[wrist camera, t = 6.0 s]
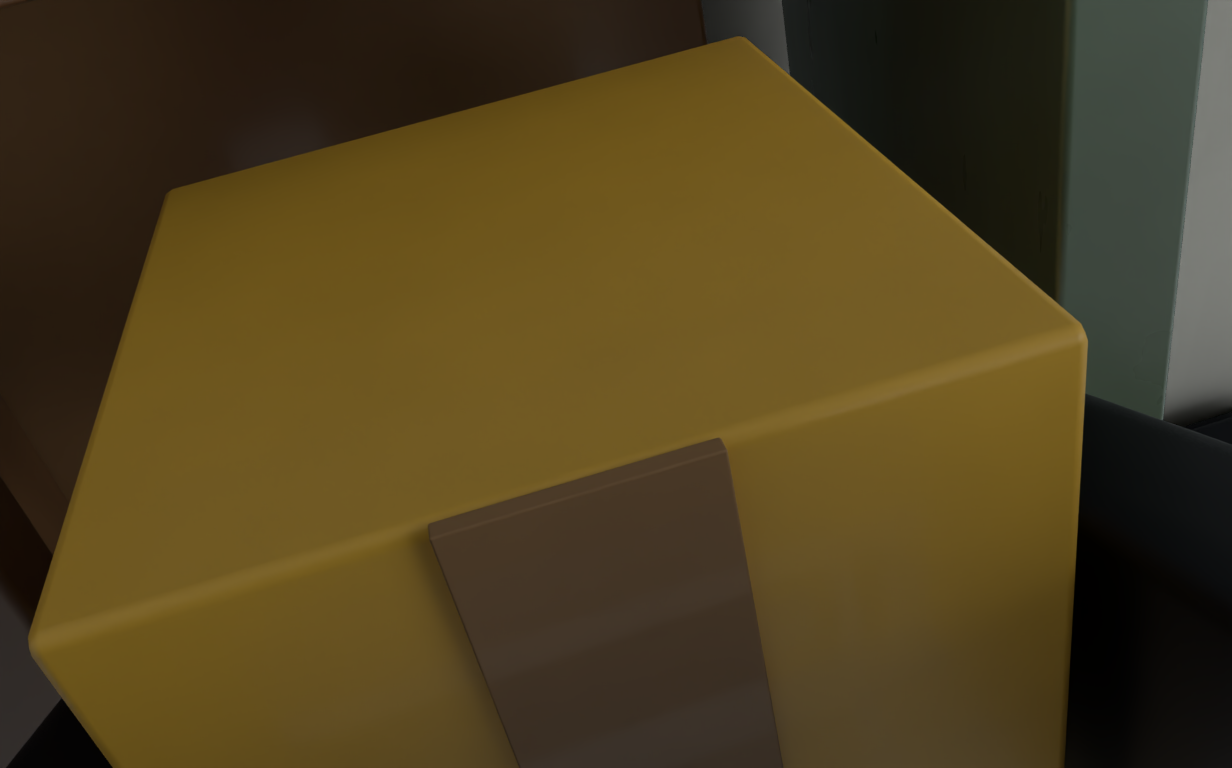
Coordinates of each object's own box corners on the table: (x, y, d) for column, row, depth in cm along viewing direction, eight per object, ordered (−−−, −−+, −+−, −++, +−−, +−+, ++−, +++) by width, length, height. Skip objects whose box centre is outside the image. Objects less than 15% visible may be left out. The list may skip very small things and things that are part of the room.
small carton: (808, 523, 11) (1065, 971, 7) (380, 653, 11) (410, 1196, 7) (743, 31, 8) (1109, 336, 4) (162, 188, 8) (11, 664, 4)
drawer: (938, -494, 12) (1462, -640, 7) (957, 331, 18) (1237, 619, 13) (-386, -180, 11) (-1107, -37, 6) (104, 584, 17) (-1, 1020, 12)
